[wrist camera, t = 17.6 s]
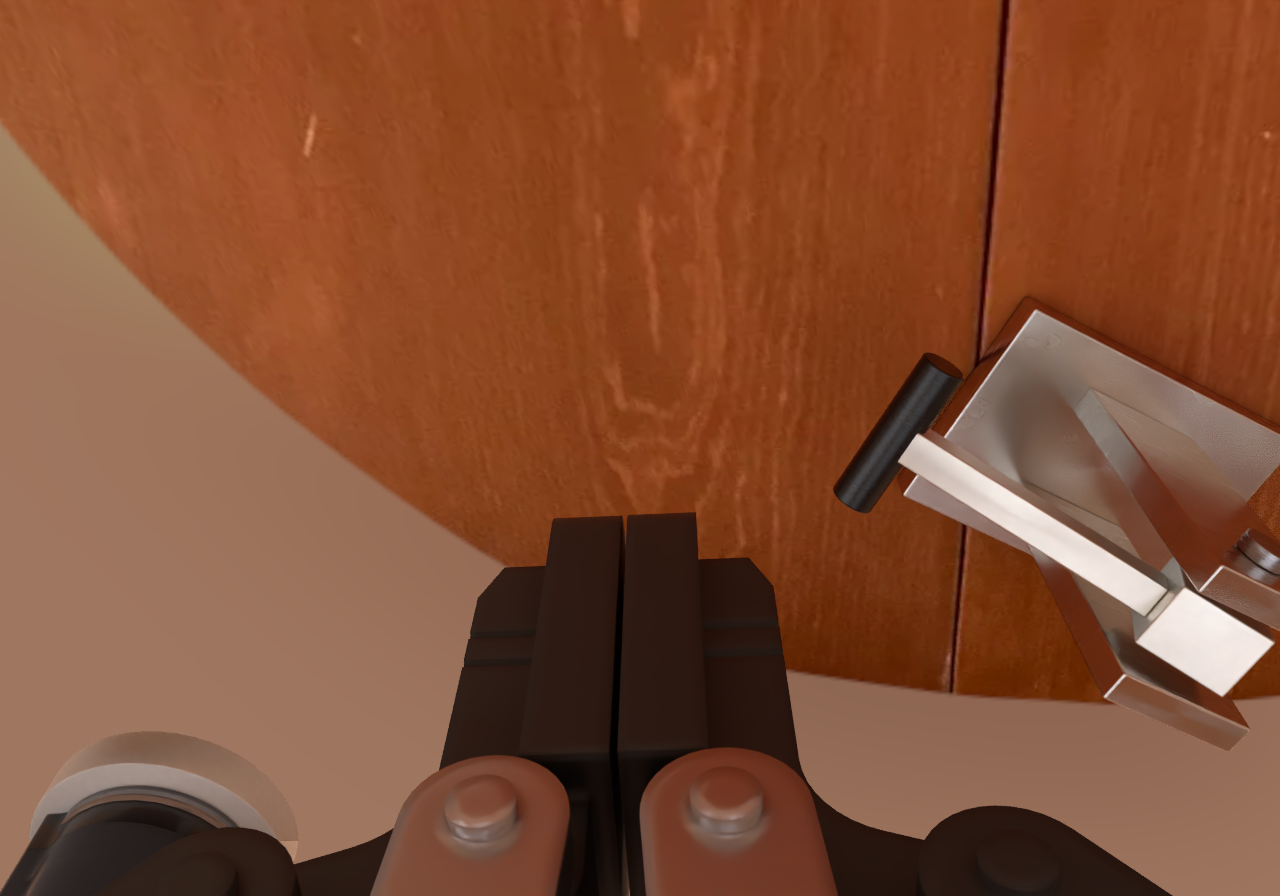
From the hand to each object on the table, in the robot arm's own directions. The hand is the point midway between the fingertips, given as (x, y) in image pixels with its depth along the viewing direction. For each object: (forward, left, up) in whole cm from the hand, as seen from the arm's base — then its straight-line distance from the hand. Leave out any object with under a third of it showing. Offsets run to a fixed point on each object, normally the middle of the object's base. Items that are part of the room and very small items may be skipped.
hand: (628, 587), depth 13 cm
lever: (+12, -12, -20) cm, 26 cm away
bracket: (+15, -14, -27) cm, 34 cm away
